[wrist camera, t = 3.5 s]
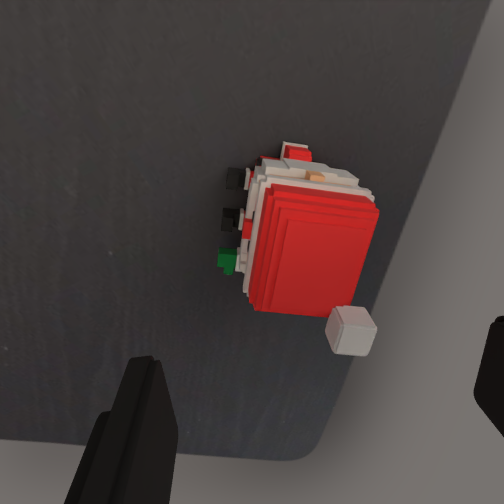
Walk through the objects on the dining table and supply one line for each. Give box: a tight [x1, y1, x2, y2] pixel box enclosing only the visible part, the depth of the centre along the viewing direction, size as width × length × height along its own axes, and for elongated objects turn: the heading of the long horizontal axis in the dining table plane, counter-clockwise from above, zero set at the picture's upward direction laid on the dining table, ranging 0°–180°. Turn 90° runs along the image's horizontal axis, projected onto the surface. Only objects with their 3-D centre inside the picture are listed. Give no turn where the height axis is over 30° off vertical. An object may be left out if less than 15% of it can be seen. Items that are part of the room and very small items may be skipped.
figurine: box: [217, 142, 379, 356], centre depth 19 cm, size 8×7×12 cm
